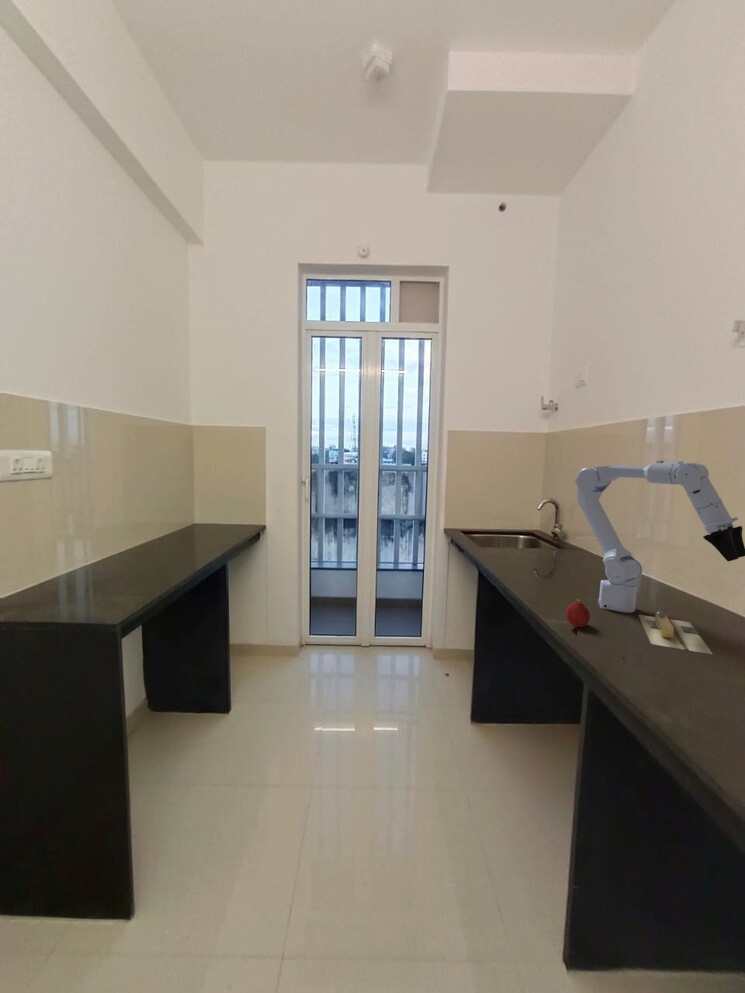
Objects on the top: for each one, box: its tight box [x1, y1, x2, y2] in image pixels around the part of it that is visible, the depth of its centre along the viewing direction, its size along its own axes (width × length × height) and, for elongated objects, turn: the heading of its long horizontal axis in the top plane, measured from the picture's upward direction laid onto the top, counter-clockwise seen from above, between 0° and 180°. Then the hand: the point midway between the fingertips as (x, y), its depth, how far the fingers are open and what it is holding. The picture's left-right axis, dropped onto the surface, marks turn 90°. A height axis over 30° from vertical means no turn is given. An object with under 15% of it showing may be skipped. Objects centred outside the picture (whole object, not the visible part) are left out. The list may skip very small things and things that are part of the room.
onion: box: [565, 599, 591, 629], centre depth 114 cm, size 6×6×8 cm
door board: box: [638, 614, 714, 656], centre depth 111 cm, size 12×21×2 cm, turn 156°
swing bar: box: [654, 610, 674, 638], centre depth 111 cm, size 10×2×3 cm, turn 156°
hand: (737, 558), depth 105 cm, fingers open, 7 cm apart
